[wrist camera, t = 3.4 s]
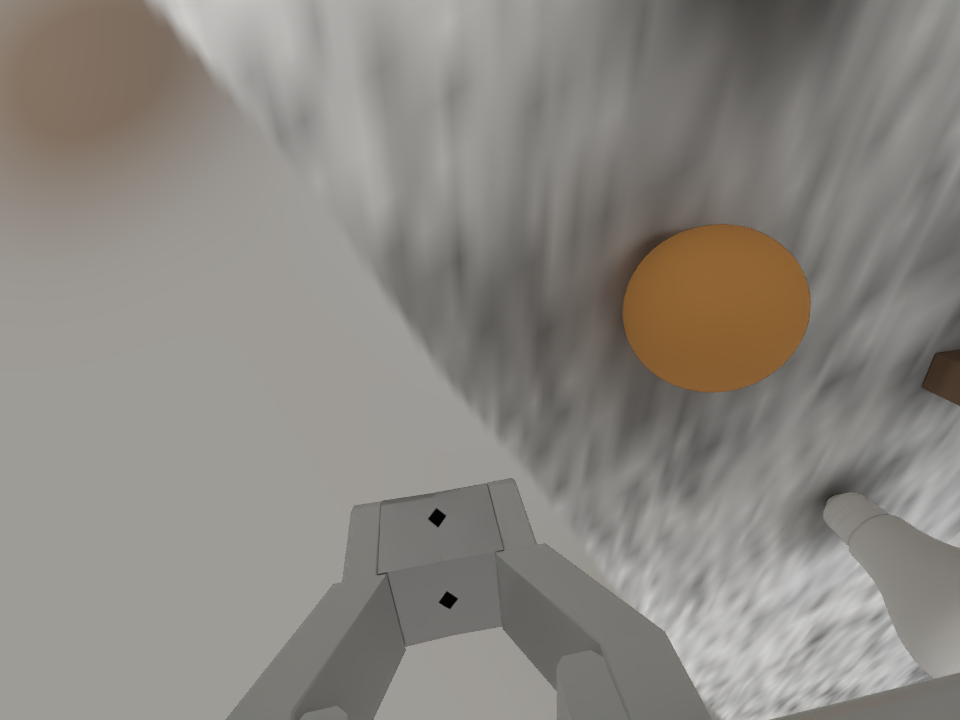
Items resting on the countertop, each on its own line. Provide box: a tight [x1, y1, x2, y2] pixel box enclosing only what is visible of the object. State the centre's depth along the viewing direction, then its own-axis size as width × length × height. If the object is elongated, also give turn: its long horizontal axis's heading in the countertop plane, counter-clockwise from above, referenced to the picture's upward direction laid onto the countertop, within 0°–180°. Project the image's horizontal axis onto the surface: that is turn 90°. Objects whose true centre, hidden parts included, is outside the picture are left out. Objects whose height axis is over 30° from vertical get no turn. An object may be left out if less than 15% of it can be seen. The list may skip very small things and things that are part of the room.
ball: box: [623, 224, 811, 392], centre depth 17 cm, size 6×6×6 cm
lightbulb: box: [823, 492, 960, 678], centre depth 22 cm, size 6×6×11 cm
